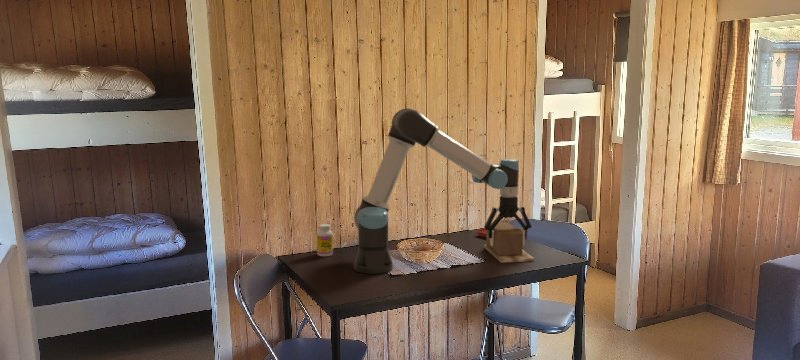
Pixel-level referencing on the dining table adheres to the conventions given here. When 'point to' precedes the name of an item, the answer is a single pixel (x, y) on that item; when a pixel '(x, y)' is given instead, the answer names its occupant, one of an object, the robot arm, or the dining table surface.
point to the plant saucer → (485, 232)
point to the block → (506, 240)
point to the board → (517, 258)
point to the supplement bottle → (324, 240)
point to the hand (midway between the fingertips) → (507, 244)
